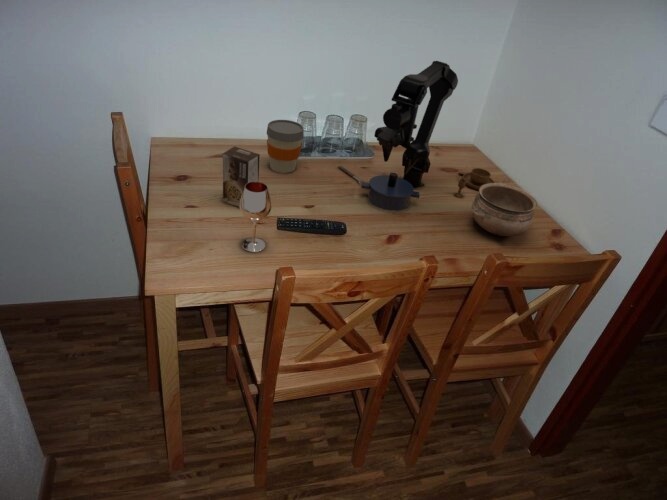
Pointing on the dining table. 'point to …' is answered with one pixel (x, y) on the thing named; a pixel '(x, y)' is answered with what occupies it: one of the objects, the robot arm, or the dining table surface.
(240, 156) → the coffee box
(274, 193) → the dining table surface
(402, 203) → the saucepan
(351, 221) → the dining table surface
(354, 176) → the fork
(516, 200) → the cooking pot
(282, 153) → the reusable coffee cup
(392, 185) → the lid
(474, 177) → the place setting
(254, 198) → the wineglass
